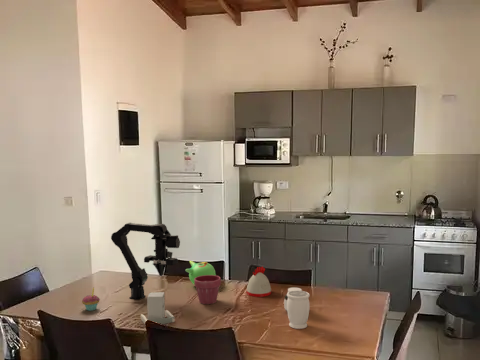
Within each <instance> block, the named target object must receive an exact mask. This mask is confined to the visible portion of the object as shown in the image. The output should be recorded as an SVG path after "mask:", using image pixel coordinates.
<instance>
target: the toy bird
mask: <svg viewBox="0 0 480 360" xmlns="http://www.w3.org/2000/svg"><path fill="white" fill-rule="evenodd" d="M189 264H190V266H191V267H190V268H186V269H185V272H186V273H188V277H189V281H190V282H191V283H192V284H193V285H194V279H195V278H196V277H198V276H203V275H216V276H217V274H216V270H215V268H214V266H213V265H212V264H210V263H208V261H202V262H201V261H200V262H194V261H193V260H189Z"/></svg>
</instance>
